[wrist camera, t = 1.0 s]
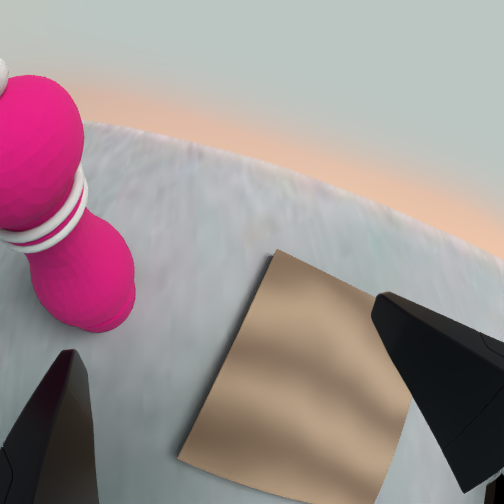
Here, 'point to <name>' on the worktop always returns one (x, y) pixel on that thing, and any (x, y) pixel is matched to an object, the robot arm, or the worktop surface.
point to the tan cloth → (303, 394)
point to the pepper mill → (58, 208)
